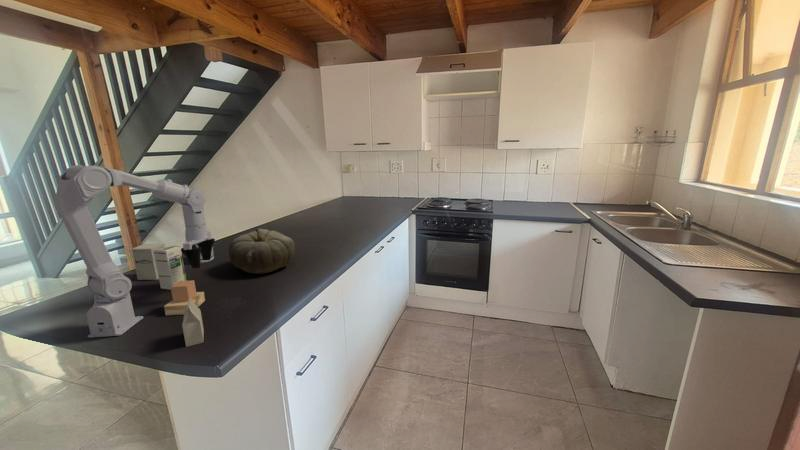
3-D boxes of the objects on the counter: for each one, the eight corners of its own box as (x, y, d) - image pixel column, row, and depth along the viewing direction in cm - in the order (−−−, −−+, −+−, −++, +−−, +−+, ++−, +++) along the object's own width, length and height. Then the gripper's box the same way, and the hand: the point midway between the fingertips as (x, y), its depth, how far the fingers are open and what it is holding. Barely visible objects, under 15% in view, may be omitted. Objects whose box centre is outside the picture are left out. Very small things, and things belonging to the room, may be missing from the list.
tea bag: (203, 329, 86) (198, 296, 84) (203, 342, 80) (197, 306, 78) (187, 333, 84) (181, 299, 82) (186, 346, 78) (179, 310, 76)
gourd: (263, 249, 148) (261, 214, 141) (308, 263, 141) (308, 227, 134) (217, 273, 126) (212, 233, 119) (268, 291, 119) (266, 250, 112)
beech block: (191, 313, 94) (189, 304, 93) (165, 315, 93) (163, 306, 93) (205, 300, 103) (203, 291, 102) (182, 301, 102) (180, 293, 101)
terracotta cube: (189, 301, 96) (186, 286, 94) (173, 302, 95) (170, 287, 94) (196, 294, 100) (194, 280, 99) (181, 295, 99) (178, 281, 98)
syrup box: (173, 290, 111) (166, 250, 107) (160, 288, 112) (152, 249, 108) (187, 283, 116) (181, 246, 113) (174, 282, 117) (167, 245, 114)
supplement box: (137, 280, 119) (130, 248, 116) (151, 273, 126) (145, 243, 124) (156, 280, 119) (150, 248, 117) (170, 272, 127) (164, 242, 124)
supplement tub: (188, 265, 134) (182, 232, 131) (190, 259, 142) (185, 227, 139) (214, 262, 139) (209, 229, 135) (215, 256, 147) (210, 225, 144)
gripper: (197, 229, 97) (204, 270, 100) (218, 219, 111) (223, 256, 114) (173, 230, 96) (180, 272, 99) (196, 220, 110) (202, 257, 113)
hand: (201, 263), depth 106 cm, fingers open, 7 cm apart
